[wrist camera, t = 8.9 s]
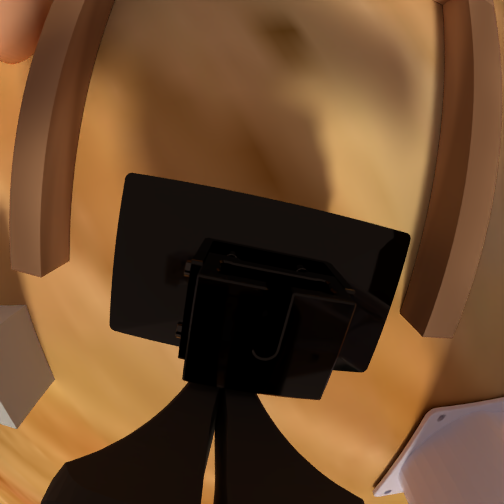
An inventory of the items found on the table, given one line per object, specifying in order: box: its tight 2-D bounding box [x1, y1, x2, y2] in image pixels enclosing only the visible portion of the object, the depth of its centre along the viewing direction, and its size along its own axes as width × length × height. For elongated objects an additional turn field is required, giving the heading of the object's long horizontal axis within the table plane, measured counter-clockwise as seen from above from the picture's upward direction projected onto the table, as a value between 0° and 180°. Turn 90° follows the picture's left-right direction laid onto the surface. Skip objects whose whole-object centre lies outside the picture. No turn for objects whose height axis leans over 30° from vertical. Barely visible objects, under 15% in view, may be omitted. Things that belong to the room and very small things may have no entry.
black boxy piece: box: [110, 173, 411, 400], centre depth 9 cm, size 12×7×5 cm, turn 78°
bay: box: [9, 0, 502, 338], centre depth 8 cm, size 16×15×2 cm
